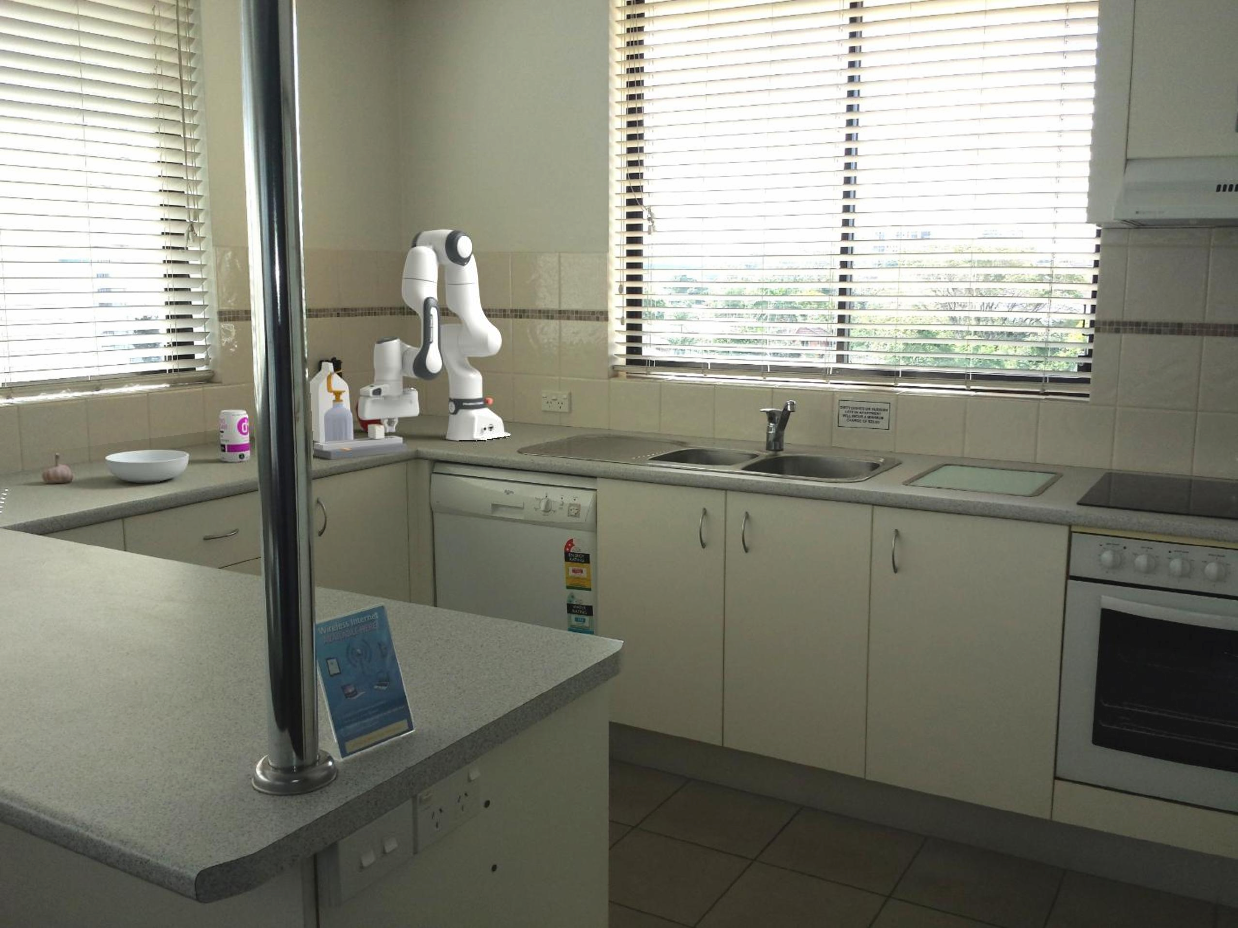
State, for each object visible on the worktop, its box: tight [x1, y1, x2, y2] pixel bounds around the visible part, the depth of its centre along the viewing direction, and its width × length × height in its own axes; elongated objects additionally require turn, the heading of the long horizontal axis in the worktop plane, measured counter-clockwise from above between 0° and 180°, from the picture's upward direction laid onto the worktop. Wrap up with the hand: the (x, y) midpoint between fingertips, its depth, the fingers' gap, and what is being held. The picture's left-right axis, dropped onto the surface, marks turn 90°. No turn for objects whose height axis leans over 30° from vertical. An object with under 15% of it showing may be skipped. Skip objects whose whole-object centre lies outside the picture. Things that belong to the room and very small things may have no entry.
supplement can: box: [218, 409, 251, 463], centre depth 338 cm, size 8×8×15 cm
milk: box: [309, 361, 351, 443], centre depth 384 cm, size 12×12×26 cm
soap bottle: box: [324, 369, 354, 442], centre depth 370 cm, size 9×9×25 cm
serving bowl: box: [104, 449, 190, 484], centre depth 305 cm, size 21×21×7 cm
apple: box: [354, 400, 388, 432], centre depth 403 cm, size 12×12×13 cm
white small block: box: [367, 424, 385, 440], centre depth 358 cm, size 3×5×6 cm, turn 40°
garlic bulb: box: [41, 453, 74, 484], centre depth 301 cm, size 8×7×8 cm
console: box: [312, 435, 408, 460], centre depth 355 cm, size 27×14×4 cm, turn 130°
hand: (389, 432), depth 361 cm, fingers closed
